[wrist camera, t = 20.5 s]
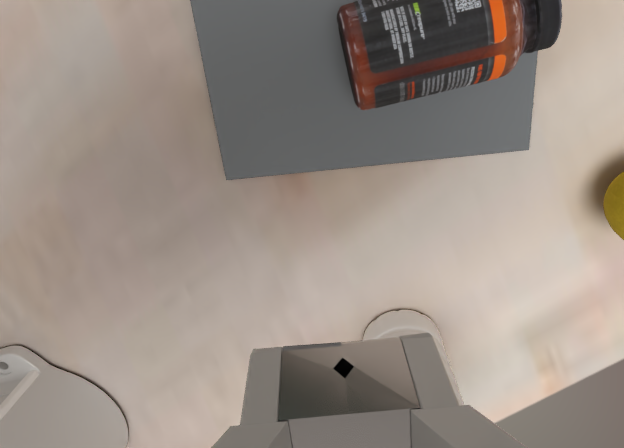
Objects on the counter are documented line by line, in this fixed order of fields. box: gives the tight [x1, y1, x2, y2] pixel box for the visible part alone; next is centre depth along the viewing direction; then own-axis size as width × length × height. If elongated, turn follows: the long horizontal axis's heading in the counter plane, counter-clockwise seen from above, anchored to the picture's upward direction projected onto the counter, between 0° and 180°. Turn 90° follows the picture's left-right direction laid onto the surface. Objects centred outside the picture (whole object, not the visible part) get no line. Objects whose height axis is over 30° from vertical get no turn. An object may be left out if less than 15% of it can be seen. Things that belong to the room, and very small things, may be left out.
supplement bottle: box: [337, 0, 562, 110], centre depth 27 cm, size 6×6×11 cm
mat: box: [190, 0, 538, 180], centre depth 31 cm, size 21×14×1 cm, turn 96°
